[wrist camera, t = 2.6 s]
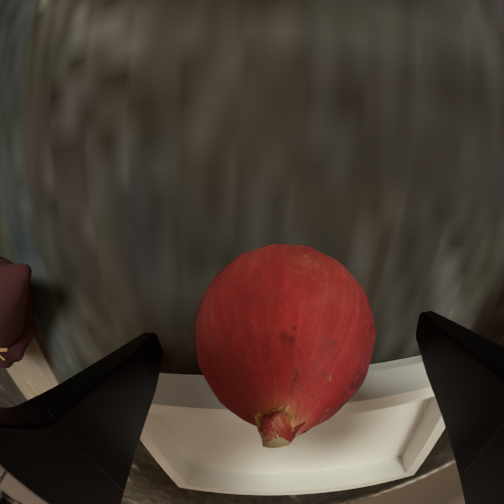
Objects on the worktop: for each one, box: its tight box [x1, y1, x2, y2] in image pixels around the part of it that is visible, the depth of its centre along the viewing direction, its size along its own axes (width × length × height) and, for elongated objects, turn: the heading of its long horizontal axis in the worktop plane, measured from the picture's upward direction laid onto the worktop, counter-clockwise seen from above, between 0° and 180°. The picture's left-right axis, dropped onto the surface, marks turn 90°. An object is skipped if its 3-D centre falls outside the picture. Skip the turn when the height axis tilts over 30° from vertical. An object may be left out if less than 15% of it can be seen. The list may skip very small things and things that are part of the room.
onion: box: [195, 244, 376, 448], centre depth 9 cm, size 6×6×8 cm
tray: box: [140, 355, 445, 495], centre depth 16 cm, size 20×13×2 cm, turn 97°
